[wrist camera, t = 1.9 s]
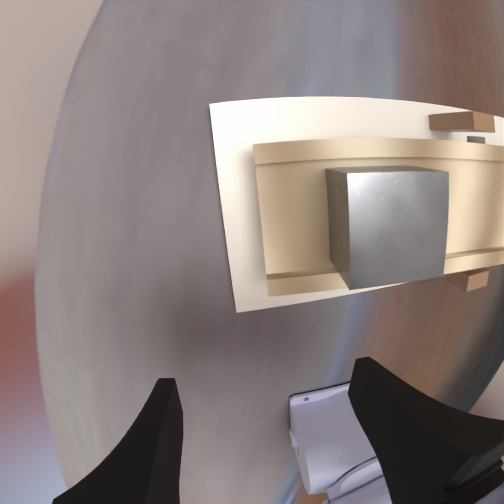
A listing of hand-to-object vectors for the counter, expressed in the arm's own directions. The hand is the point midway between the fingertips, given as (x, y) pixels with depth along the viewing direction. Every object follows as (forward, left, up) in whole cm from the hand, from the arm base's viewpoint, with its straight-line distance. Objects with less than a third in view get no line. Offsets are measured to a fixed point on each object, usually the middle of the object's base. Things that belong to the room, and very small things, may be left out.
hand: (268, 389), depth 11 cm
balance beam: (+16, +5, -6) cm, 18 cm away
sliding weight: (+7, +5, -6) cm, 11 cm away
